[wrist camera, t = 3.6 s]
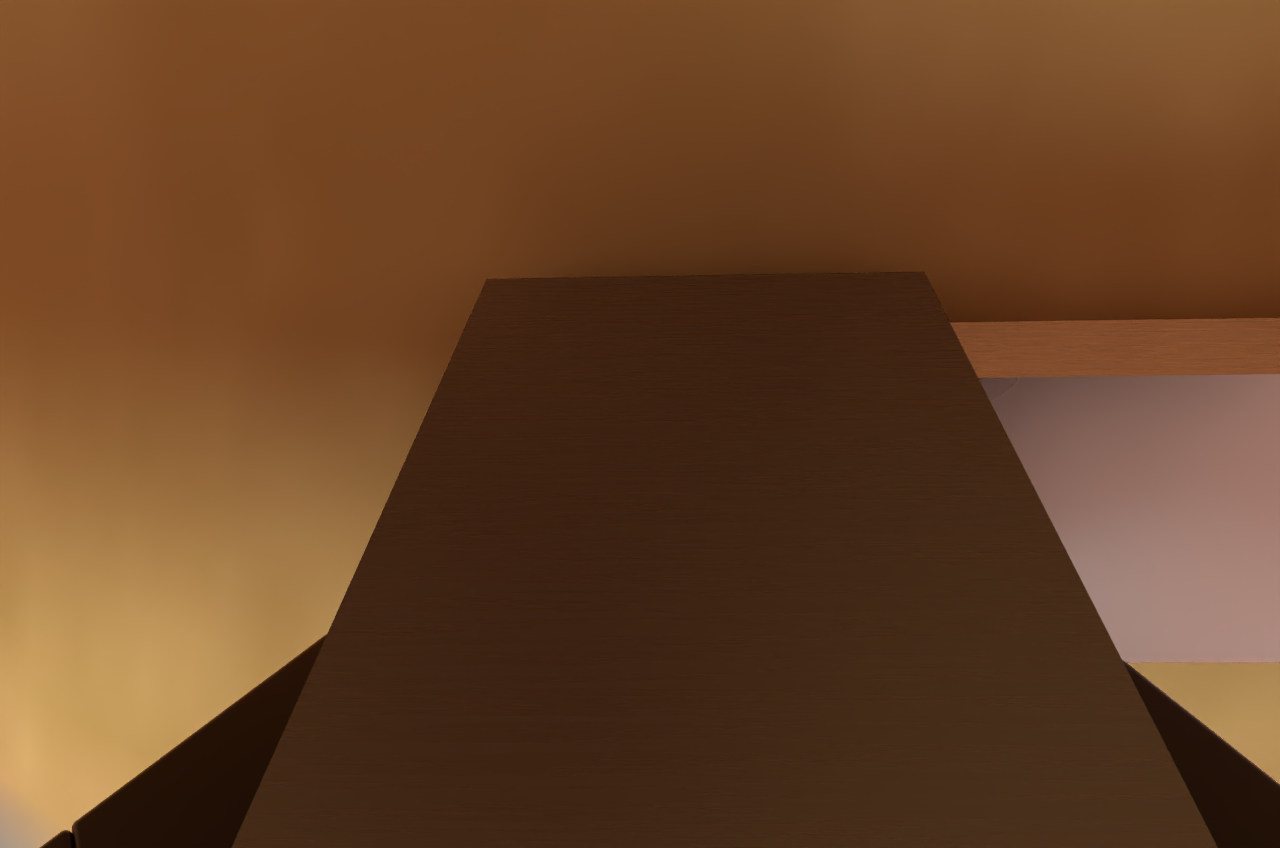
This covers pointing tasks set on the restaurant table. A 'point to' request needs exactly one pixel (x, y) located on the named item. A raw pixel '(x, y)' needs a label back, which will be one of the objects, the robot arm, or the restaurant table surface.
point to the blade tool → (791, 576)
